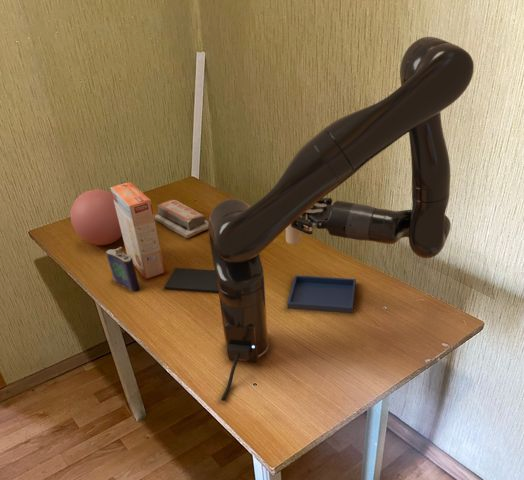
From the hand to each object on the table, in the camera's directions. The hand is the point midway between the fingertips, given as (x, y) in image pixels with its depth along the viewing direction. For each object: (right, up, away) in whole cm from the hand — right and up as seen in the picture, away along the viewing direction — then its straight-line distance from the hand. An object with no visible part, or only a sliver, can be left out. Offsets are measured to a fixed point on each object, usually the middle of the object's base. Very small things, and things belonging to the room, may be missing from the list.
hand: (281, 209), depth 121 cm
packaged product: (-28, +6, +40) cm, 50 cm away
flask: (-39, -15, +16) cm, 45 cm away
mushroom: (+3, -6, +4) cm, 8 cm away
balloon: (-49, +1, +36) cm, 60 cm away
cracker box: (-36, -9, +23) cm, 44 cm away
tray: (+10, -19, +7) cm, 23 cm away
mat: (-19, -15, +15) cm, 28 cm away
